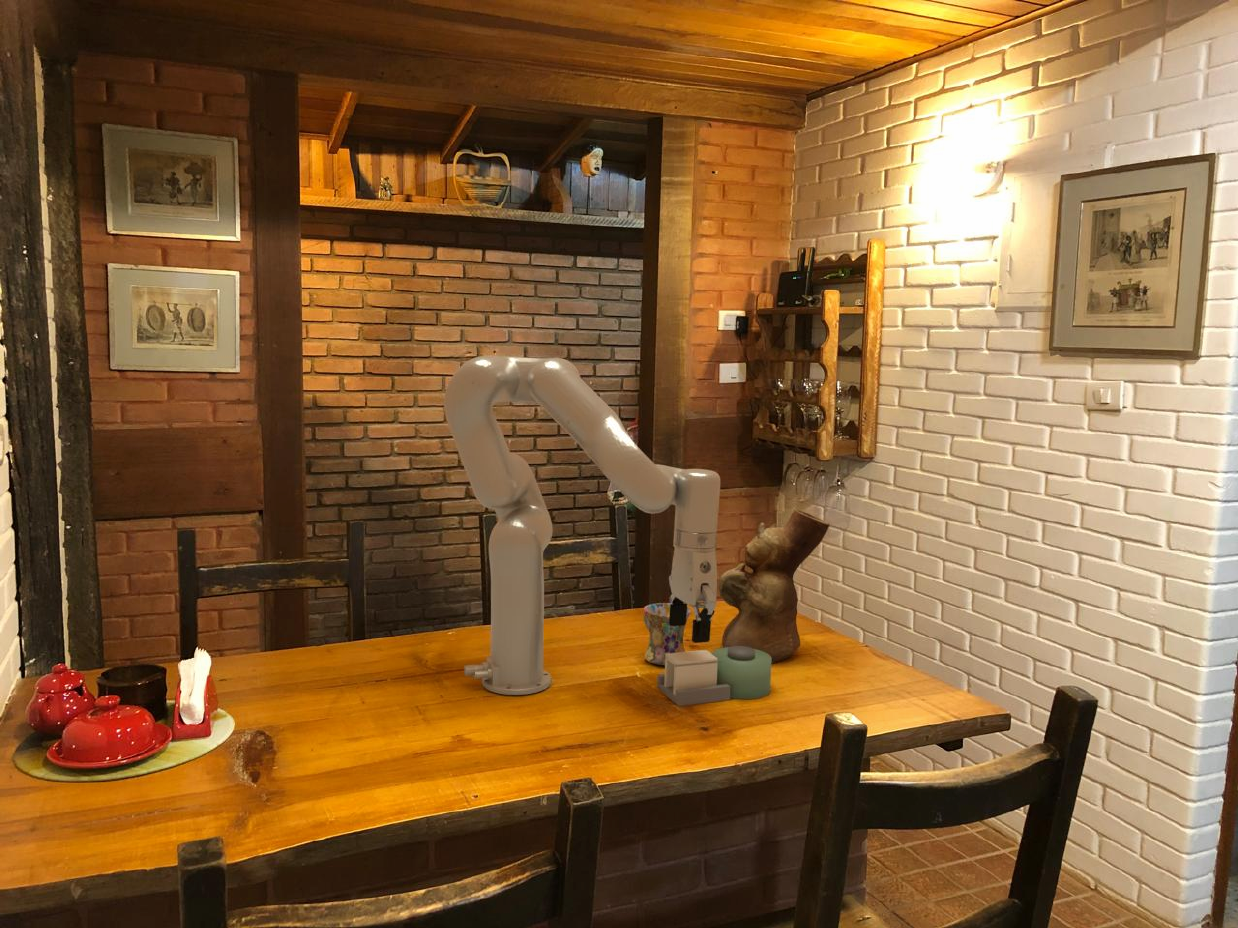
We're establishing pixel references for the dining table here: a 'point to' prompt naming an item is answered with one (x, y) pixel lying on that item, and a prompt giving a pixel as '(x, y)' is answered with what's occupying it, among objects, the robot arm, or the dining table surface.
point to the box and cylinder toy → (728, 678)
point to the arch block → (690, 670)
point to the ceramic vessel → (770, 586)
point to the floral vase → (662, 633)
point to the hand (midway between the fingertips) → (688, 633)
